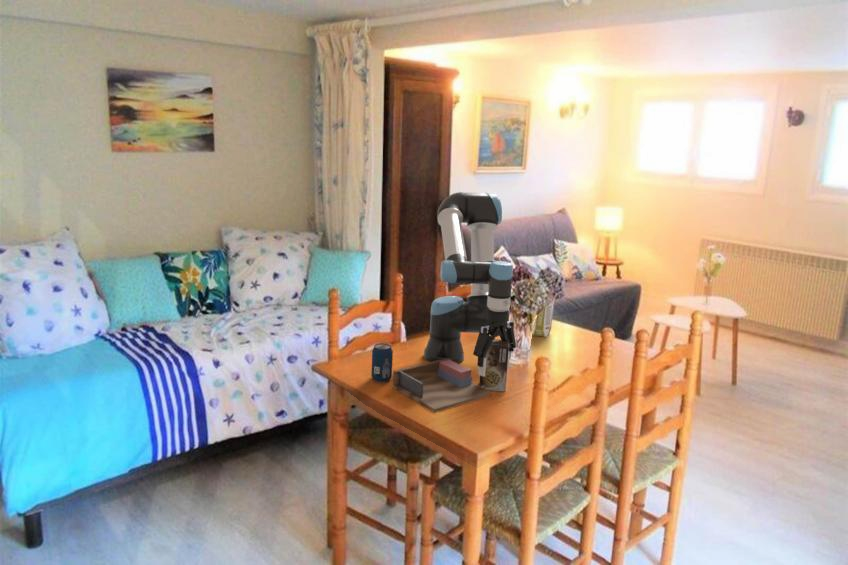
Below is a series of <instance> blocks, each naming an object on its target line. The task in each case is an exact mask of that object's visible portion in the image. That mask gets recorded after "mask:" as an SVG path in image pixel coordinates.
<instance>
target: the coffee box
mask: <svg viewBox="0 0 848 565" xmlns="http://www.w3.org/2000/svg"><path fill="white" fill-rule="evenodd" d="M508 352H509V341H504V340H501V339H496V338H495V339H494V340H492V342H491V345H490V347H489V349H488V351H487V353H486V355H485V357H486V371H485V376H484V377H483V376H481V375H479V381H478V386H479V387H481V388H483V389H485V390H487V391H496V392H497V391H498V392H506V389H507V377H508V370H507V365H508ZM481 354H482V353H481Z"/></svg>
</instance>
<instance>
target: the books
mask: <svg viewBox="0 0 848 565" xmlns="http://www.w3.org/2000/svg"><path fill="white" fill-rule="evenodd" d="M437 376H439V377H441V378H443V379H445V380H447V381H449V382H451V383H453V384H455V385H457V386H459V387H464V386H468V385H471V384H472V383H473V377H472V369H470V368H467V367H466V366H464V365H461V364H460V363H455V362H453V361H451V360H446V361H442V362H439V369H438V375H437Z"/></svg>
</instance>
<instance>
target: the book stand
mask: <svg viewBox="0 0 848 565" xmlns="http://www.w3.org/2000/svg"><path fill="white" fill-rule="evenodd" d="M446 360H451V358H446V359H441V360H437V361H433V362H429V361H428V362H426V363H421V364H420V363H419V364H417V365H413V366H408V367H403V368H399V369H396V370H392V376H393V377H392V389H394V390H396V391H398V393H401V394H402V395H404V396H406V397H408V398H409V399H412V401H414V402H416V403H418V404H420V405H421V406H423V407H424V408H426V409H428V410H430V411H431V412H434V413H437V412H440V411H445V410H447V409H451V408H454V407H458V406H461V405H463V404H467V403H471V402H474V401H478V400H481V399H484V398H487V397H491V396H492V392H491V391H490V390H485V389H483V388H481V387H479V385H477V384H475V383H473V382H472V384H471V385H468V386H464V387H459V386H457V385H455V384H453V383H451V382H449V381H447V380H445V379H443V378H441V377H439V376H437V375H438V369H439V362H442V361H446ZM399 371H402V372H404V373H405V374H407V375H409V376H411V377H413V378H415V379H417V380H418V381H420V382H422V383H423V398H419V397H417V396H415V395H414V394H412V393H410V392H408V391H407V390H405V389H403V388H401V387H400V386H398V381H399Z"/></svg>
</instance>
